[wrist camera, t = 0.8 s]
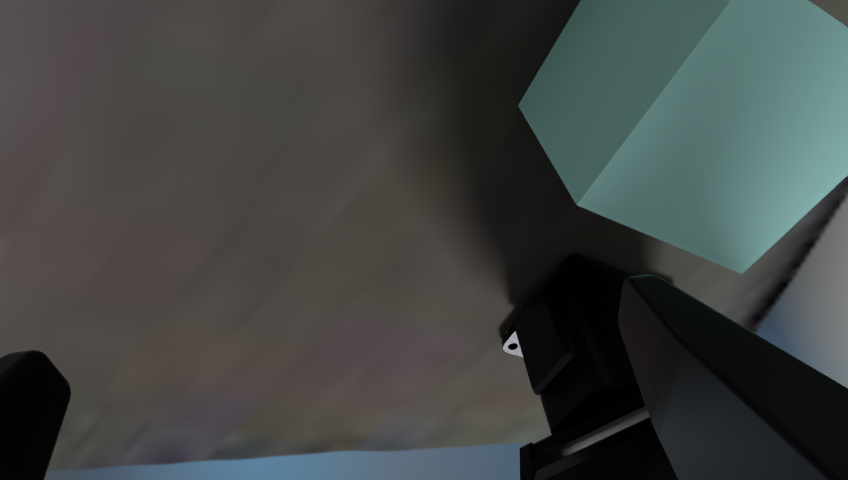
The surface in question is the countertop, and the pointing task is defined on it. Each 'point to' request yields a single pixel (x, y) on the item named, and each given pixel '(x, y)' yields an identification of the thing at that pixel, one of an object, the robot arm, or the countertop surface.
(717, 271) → the countertop surface
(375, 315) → the countertop surface
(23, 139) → the countertop surface
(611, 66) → the turquoise block
